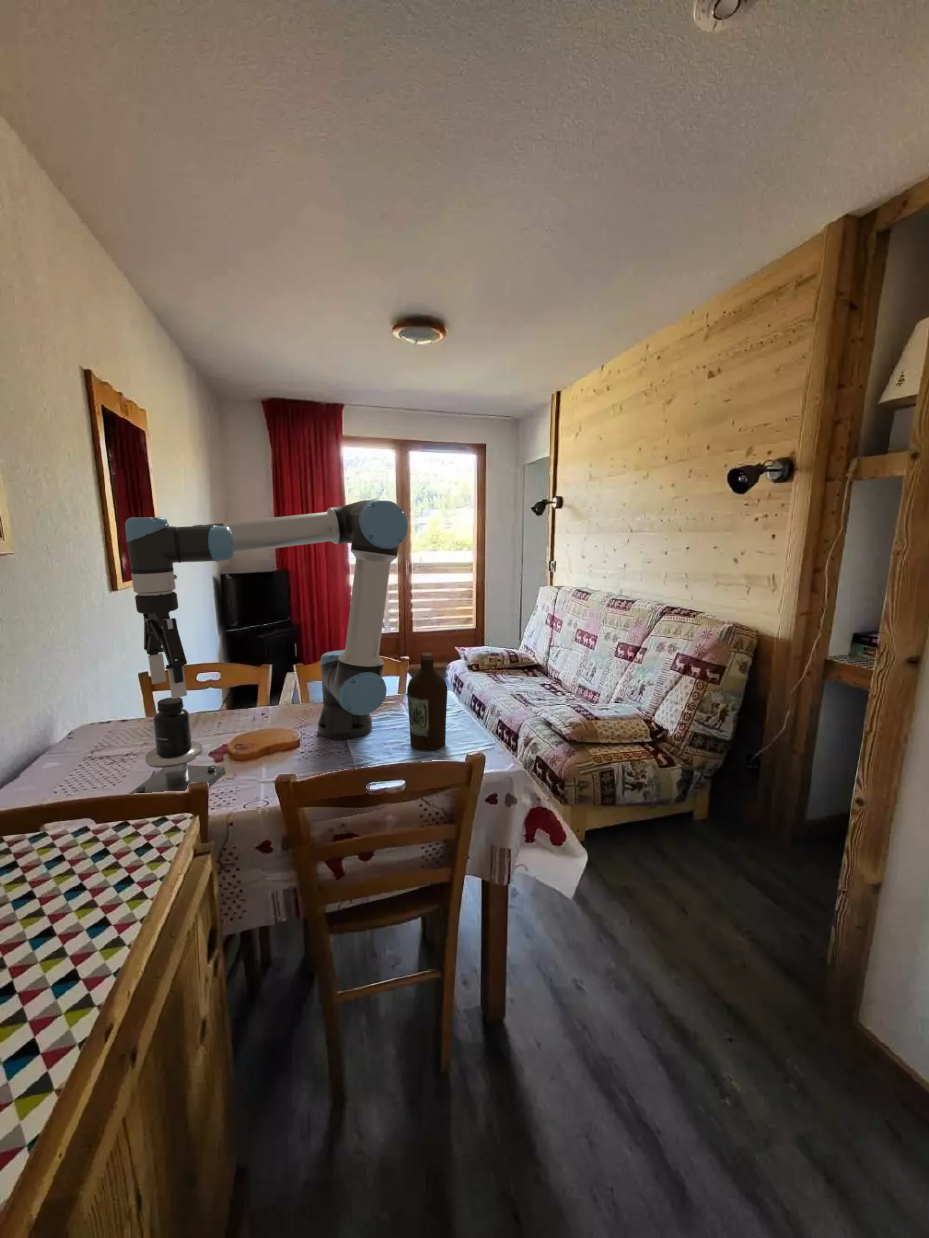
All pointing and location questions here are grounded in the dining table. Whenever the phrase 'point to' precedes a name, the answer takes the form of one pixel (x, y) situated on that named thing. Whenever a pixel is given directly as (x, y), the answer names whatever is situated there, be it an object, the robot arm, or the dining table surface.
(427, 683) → the olive oil
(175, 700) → the supplement bottle
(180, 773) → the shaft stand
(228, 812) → the dining table surface
